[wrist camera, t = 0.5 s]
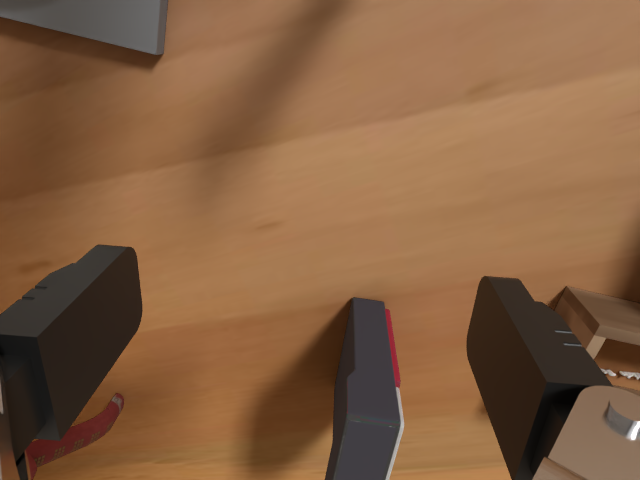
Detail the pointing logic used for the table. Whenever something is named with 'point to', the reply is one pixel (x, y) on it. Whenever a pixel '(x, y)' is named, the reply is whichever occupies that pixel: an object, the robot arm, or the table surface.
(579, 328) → the blocks tray
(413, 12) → the table surface
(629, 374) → the wood blocks
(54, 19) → the dial plate
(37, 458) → the pliers
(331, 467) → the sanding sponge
